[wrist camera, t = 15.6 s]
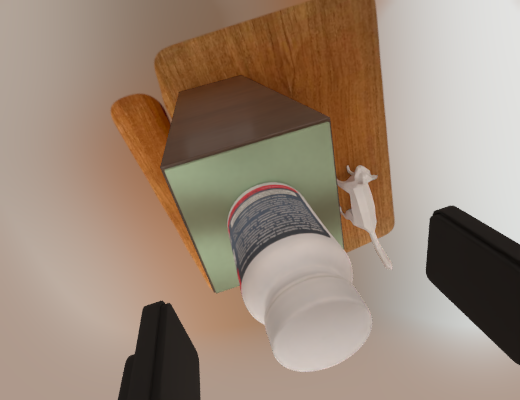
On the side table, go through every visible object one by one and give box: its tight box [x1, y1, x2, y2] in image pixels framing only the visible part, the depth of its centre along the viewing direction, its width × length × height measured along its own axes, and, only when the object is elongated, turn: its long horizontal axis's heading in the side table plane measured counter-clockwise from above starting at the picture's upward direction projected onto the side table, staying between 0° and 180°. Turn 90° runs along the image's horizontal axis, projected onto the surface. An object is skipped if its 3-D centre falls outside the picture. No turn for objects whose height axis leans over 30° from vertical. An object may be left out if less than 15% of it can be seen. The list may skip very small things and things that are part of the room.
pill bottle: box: [227, 182, 372, 372], centre depth 15 cm, size 5×5×9 cm
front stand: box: [160, 75, 344, 293], centre depth 33 cm, size 10×10×33 cm
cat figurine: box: [337, 165, 392, 270], centre depth 53 cm, size 4×20×14 cm, turn 20°
